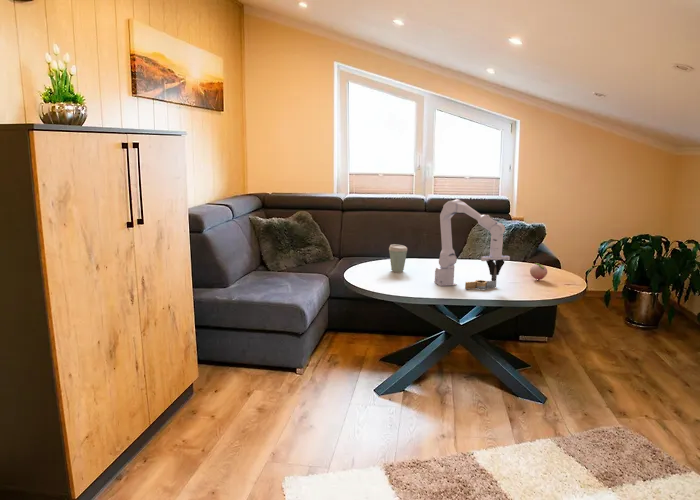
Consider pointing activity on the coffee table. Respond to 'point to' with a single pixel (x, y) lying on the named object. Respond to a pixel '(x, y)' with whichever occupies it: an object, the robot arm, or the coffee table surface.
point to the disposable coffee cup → (397, 257)
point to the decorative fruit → (538, 271)
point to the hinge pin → (494, 273)
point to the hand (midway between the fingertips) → (494, 274)
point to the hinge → (480, 284)
